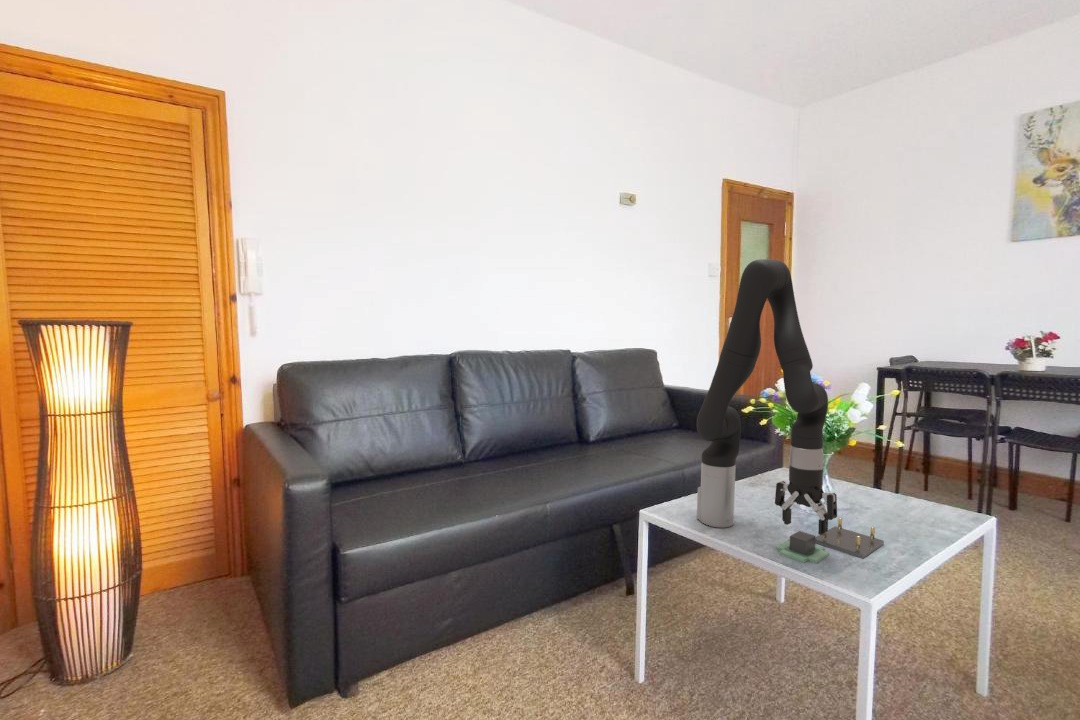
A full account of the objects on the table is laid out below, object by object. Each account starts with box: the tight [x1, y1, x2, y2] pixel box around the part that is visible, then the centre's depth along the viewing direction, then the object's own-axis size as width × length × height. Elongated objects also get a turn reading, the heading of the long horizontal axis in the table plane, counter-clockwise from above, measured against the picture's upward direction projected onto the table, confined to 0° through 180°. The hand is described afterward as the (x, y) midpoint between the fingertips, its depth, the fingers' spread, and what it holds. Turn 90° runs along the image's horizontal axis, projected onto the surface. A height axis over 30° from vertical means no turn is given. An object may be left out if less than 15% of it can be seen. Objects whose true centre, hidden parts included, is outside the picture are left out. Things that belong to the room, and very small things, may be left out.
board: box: [775, 530, 830, 564], centre depth 137 cm, size 10×11×5 cm
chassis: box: [815, 517, 885, 559], centre depth 142 cm, size 12×13×4 cm
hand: (804, 528), depth 136 cm, fingers open, 8 cm apart
